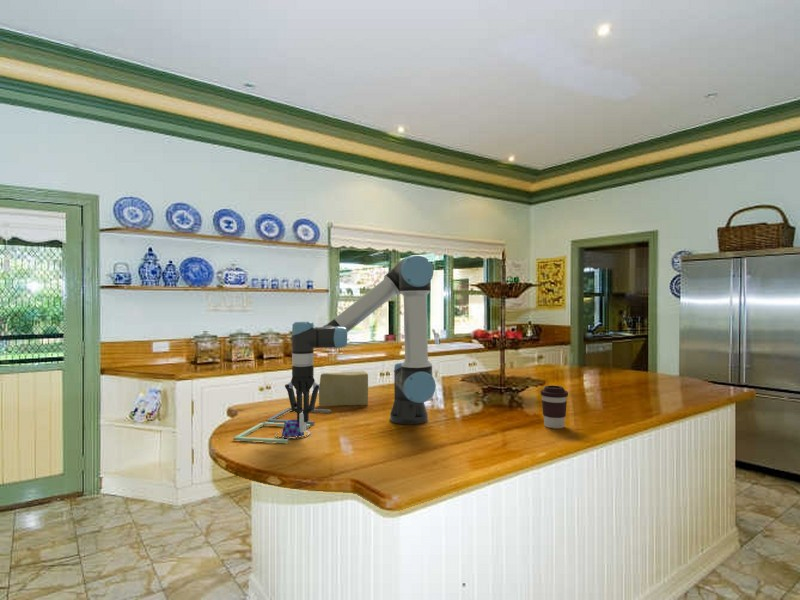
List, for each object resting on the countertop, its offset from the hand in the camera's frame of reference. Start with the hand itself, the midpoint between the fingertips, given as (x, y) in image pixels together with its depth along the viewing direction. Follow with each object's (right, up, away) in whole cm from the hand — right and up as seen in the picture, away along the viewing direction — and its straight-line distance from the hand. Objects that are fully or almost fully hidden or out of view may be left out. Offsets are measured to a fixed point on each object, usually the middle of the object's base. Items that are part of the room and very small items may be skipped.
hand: (302, 431), depth 165 cm
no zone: (-6, -2, +26) cm, 26 cm away
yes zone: (-10, -2, +2) cm, 11 cm away
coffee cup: (+93, -2, +11) cm, 94 cm away
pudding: (-4, -2, +1) cm, 4 cm away
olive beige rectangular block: (+8, -2, +49) cm, 50 cm away
